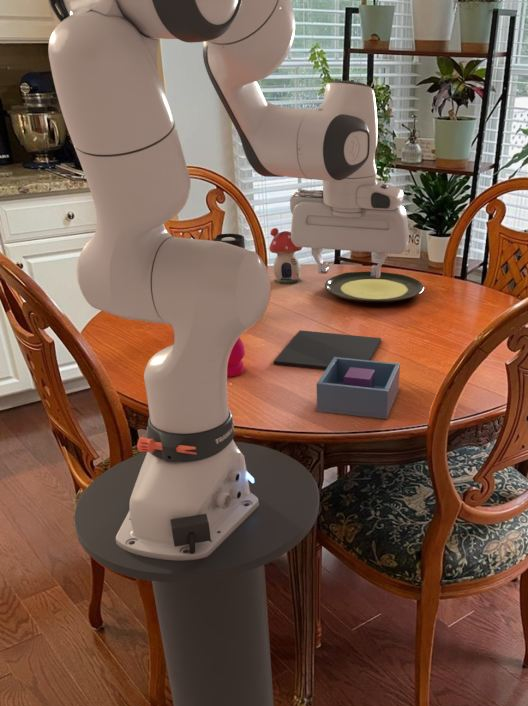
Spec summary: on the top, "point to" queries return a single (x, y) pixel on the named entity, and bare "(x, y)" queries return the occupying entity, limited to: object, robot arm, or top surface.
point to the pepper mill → (236, 359)
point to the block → (360, 377)
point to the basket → (358, 389)
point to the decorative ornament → (285, 257)
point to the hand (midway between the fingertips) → (349, 275)
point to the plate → (374, 287)
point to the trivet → (325, 349)
